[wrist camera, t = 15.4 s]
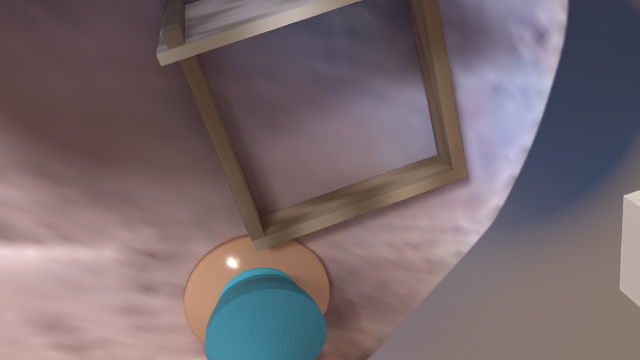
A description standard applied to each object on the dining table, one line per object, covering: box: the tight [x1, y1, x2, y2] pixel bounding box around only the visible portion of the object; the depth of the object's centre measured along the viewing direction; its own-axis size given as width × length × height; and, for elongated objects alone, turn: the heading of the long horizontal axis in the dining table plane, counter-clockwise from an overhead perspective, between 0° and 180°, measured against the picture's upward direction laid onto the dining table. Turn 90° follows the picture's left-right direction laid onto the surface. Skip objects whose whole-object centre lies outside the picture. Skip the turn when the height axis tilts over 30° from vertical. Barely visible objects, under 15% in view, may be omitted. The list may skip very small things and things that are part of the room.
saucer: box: [184, 235, 330, 344], centre depth 47 cm, size 12×12×1 cm
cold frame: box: [156, 0, 467, 252], centre depth 36 cm, size 17×18×12 cm
